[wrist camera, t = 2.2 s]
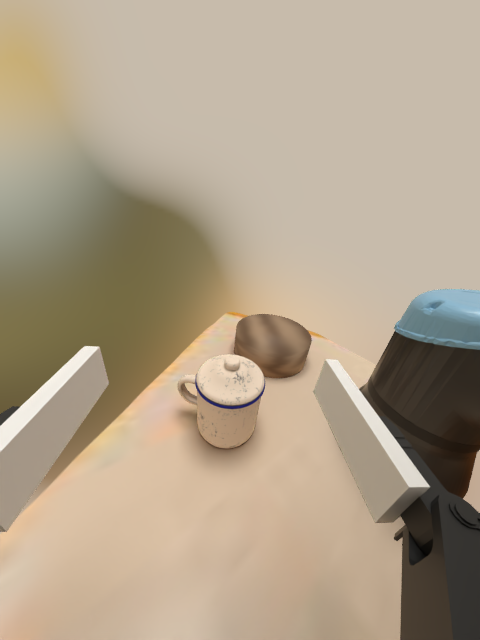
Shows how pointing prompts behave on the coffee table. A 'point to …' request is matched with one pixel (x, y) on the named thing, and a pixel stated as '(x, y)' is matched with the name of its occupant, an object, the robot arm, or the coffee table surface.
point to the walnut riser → (273, 344)
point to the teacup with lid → (225, 399)
